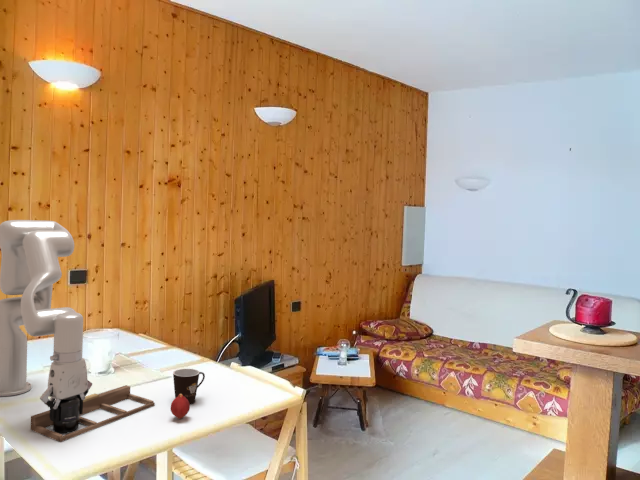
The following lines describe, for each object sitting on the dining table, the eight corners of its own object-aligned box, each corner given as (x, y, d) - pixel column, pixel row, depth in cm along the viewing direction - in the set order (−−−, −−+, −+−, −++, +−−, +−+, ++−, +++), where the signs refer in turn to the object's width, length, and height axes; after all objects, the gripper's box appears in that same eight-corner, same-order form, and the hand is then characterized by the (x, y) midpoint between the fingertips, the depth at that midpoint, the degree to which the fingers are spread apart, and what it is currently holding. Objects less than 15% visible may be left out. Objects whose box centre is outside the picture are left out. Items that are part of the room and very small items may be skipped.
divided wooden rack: (30, 429, 156) (30, 414, 156) (125, 396, 186) (126, 383, 185) (60, 442, 149) (61, 425, 149) (154, 405, 179) (155, 391, 179)
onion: (172, 414, 172) (173, 390, 172) (190, 415, 173) (191, 390, 172) (168, 422, 166) (169, 396, 166) (187, 422, 167) (188, 397, 166)
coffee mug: (175, 407, 178) (176, 377, 178) (169, 398, 186) (170, 369, 185) (210, 403, 184) (211, 374, 183) (203, 394, 191) (204, 366, 191)
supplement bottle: (68, 435, 153) (69, 394, 153) (47, 432, 155) (48, 391, 154) (84, 426, 160) (85, 386, 159) (63, 423, 162) (64, 383, 161)
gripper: (48, 365, 147) (46, 430, 148) (102, 352, 162) (100, 411, 163) (31, 360, 150) (29, 423, 152) (85, 347, 166) (84, 405, 167)
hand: (66, 416), depth 157 cm, fingers closed on supplement bottle, 6 cm apart
